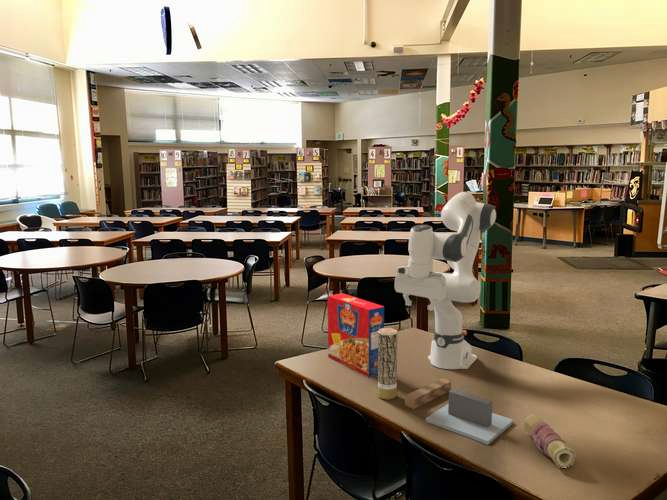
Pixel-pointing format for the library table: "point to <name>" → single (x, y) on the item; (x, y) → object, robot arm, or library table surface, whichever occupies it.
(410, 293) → the robot arm
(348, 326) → the pasta box
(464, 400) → the ridge stand
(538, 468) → the library table surface
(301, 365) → the library table surface
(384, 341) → the bark cylinder
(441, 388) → the light brown wooden bar
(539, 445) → the scroll
